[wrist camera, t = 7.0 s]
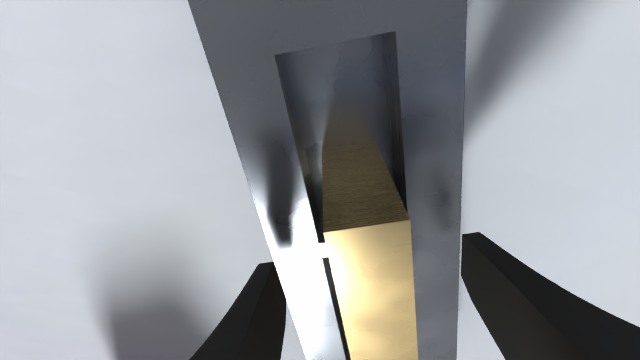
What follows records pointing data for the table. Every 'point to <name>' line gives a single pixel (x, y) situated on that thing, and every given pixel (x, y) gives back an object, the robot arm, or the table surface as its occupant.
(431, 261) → the block
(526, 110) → the table surface
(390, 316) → the clip
